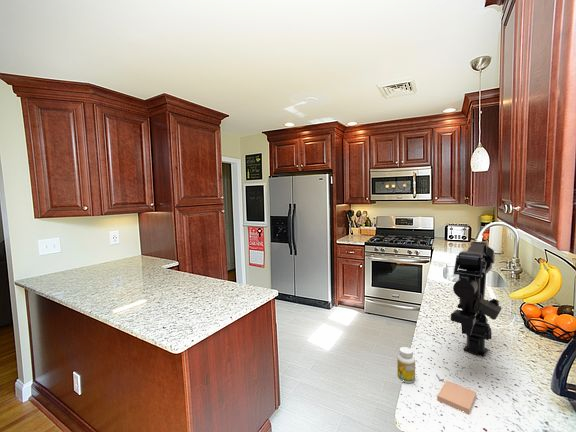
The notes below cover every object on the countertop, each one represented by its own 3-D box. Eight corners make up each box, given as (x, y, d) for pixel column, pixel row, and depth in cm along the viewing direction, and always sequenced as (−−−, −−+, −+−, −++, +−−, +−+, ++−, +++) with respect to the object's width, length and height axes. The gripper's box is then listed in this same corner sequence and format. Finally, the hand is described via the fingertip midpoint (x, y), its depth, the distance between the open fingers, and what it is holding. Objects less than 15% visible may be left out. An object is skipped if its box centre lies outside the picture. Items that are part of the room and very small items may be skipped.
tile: (446, 380, 88) (437, 395, 82) (476, 392, 83) (469, 409, 76) (446, 386, 88) (437, 402, 82) (476, 398, 83) (469, 416, 76)
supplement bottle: (418, 383, 89) (418, 354, 89) (401, 383, 89) (401, 355, 89) (410, 372, 95) (410, 345, 94) (394, 373, 95) (394, 345, 94)
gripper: (492, 304, 81) (491, 356, 83) (504, 288, 94) (503, 333, 95) (450, 295, 89) (449, 342, 91) (466, 282, 102) (465, 323, 103)
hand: (468, 335), depth 95 cm, fingers closed
